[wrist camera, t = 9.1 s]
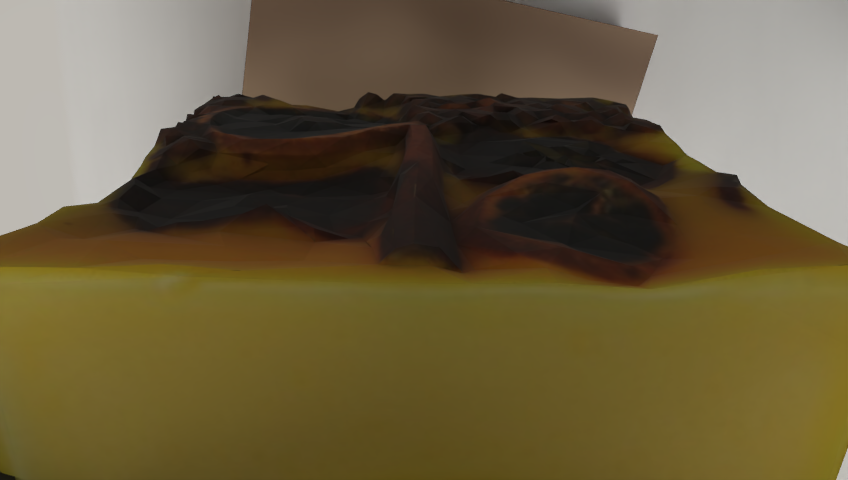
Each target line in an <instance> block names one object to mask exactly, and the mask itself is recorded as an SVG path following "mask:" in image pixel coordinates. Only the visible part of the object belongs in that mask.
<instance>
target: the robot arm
mask: <svg viewBox="0 0 848 480" xmlns="http://www.w3.org/2000/svg"><path fill="white" fill-rule="evenodd" d="M0 480H15V476H11V475H7V474H4V473H1V472H0Z"/></svg>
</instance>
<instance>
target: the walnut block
mask: <svg viewBox="0 0 848 480" xmlns="http://www.w3.org/2000/svg"><path fill="white" fill-rule="evenodd" d="M657 37H658V35H654V34H650V33H645V32H641V31H636V30H632V29H628V28H623V27H619V26H614V25H610V24H606V23H601V22H597V21H592V20H588V19H584V18H579V17H575V16H570V15H566V14H561V13H557V12H553V11H548V10H544V9H539V8H535V7H531V6H526V5H522V4H517V3H513V2H509V1H504V0H252V3H251V13H250V23H249V33H248V43H247V52H246V62H245V72H244V82H243V92H242V95H245V96H249V97H252V98H254V97H257V96H260V95H265V96H268V97H271V98H274V99H278V100H281V101H283V102H286V103H289V104H291V105H308V106H314V107H319V108H324V109H330V110H335V111H342V110H346V109H350V108H354V107H355V105H356V103H357V102H358V100H359V99H360V98H361V97H362V96H364V95H365V94H366V93H368V92H370V93H374V94H377V95H378V96H380V97H381V98H382V99H383V100H386V99H387V98H388V97H389V96H391V95H392V94H393V93H400V94H429V95H435V96H449V95H459V94H482V95H488V96H494V97H496V96H497V95H499V94H501V93H503V94H506V95H510V96H513V97H517V98H531V97H533V98H559V99H561V98H589V97H593V98H599V99H605V100H610V101H614V102H618V103H622V104H626V105H627V107H628V108H629V110H630V113H631V115H632V113H633V110H634V107H635V104H636V100H637V97H638V94H639V91H640V88H641V85H642V82H643V79H644V76H645V73H646V70H647V67H648V64H649V61H650V58H651V55H652V52H653V49H654V46H655V43H656V40H657Z"/></svg>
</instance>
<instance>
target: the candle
mask: <svg viewBox="0 0 848 480" xmlns="http://www.w3.org/2000/svg"><path fill="white" fill-rule="evenodd" d="M847 448H848V247H847V246H845V245H843V244H841V243H838V242H836V241H834V240H832V239H830V238H828V237H826V236H824V235H822V234H820V233H818V232H817V231H815V230H813V229H811V228H809V227H807V226H805V225H803V224H801V223H799V222H797V221H795V220H793V219H791V218H789V217H787V216H785V215H783V214H781V213H779V212H777V211H775V210H774V209H772V208H770V207H768V206H767V205H766V204H764V203H763V202H762V201H761V200H759V199H758V198H757V197H756V196H754V195H753V194H752V193H751V192H750V191H748V190H747V189H746V188H745V187H743V186H742V185H741V183H740V181H739V179H738V177H737V175H732V174H726V173H719V172H715V171H713V170H712V169H710V168H708V167H707V166H705V165H704V164H702V163H700V162H699V161H697V160H695V159H693V158H691V157H689V156H687V155H686V154H685V153H684V152H683V150H682V149H681V148H680V147H679V146H678V145H677V144H676V143H675V142H674V141H673V140H672V139H671V138H669V137H668V136H667V135H666V134H665V132H664V131H663V129H662V128H661V126H660V125H656V124H654V123H652V122H650V121H647V120H643V119H638V118H632V115H631V113H630V110H629V108H628V107H627V105H626V104H622V103H618V102H614V101H610V100H605V99H599V98H593V97H589V98H561V99H559V98H533V97H531V98H517V97H513V96H510V95H506V94H503V93H501V94H499V95H497V96H496V97H494V96H488V95H482V94H459V95H449V96H435V95H429V94H400V93H393V94H392V95H391V96H389V97H388V98H387V99H386V100H383V99H382V98H381V97H380V96H378V95H377V94H374V93H370V92H368V93H366V94H365V95H364V96H362V97H361V98H360V99H359V100H358V102H357V103H356V105H355V107H354V108H350V109H346V110H342V111H335V110H330V109H324V108H319V107H314V106H308V105H291V104H289V103H286V102H283V101H281V100H278V99H274V98H271V97H268V96H265V95H260V96H257V97H254V98H252V97H249V96H245V95H241V94H236V95H233V96H231V97H220V96H219V95H218V96H216V97H214V96H213V98H212V99H211V100H210V101H208V102H207V103H206V104H204V105H202V106H200V107H199V108H197V109H196V110H194V115H192V114H187V119H186V121H184V122H183V123H181V122H178V123H177V125H176V127H172V128H165V129H161V130H160V133H159V136H158V138H157V141H156V144H155V146H154V148H153V149H152V150H151V151H150V152H149V154H148V155H147V156H146V157H145V159H144V161H143V163H142V165H141V167H140V168H139V169H138V171H137V172H136V173H135V175H134V176H133V177H132V179H131V180H130V181H129V182H127V183H126V184H124V185H123V186H121V187H120V188H118V189H117V190H115V191H114V192H113V193H111V194H110V195H108V196H107V197H105V198H104V199H103V200H101V201H100V202H98V203H93V204H84V205H75V206H66V207H62V208H61V209H59V210H58V211H56V212H54V213H53V214H51V215H50V216H48V217H46V218H45V219H43V220H41V221H40V222H38V223H36V224H33V225H30V226H28V227H25V228H22V229H19V230H16V231H13V232H10V233H7V234H4V235H1V236H0V472H1V473H4V474H7V475H11V476H15V480H836V478H837V475H838V473H839V470H840V467H841V465H842V462H843V459H844V456H845V454H846V451H847Z"/></svg>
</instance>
